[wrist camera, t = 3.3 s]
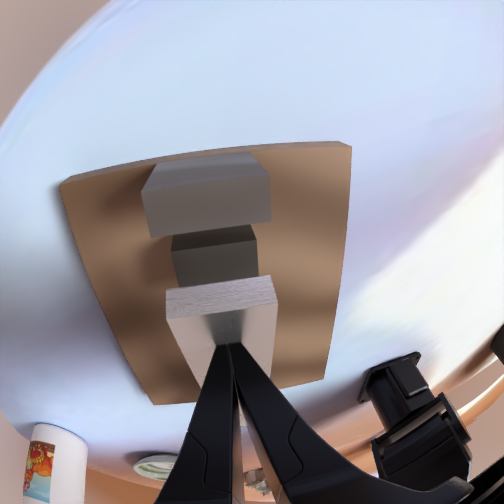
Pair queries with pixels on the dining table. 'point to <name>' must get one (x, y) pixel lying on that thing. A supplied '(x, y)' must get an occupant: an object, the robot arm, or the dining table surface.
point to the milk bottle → (55, 467)
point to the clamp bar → (224, 321)
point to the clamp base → (278, 250)
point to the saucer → (156, 466)
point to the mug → (499, 344)
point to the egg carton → (258, 481)
